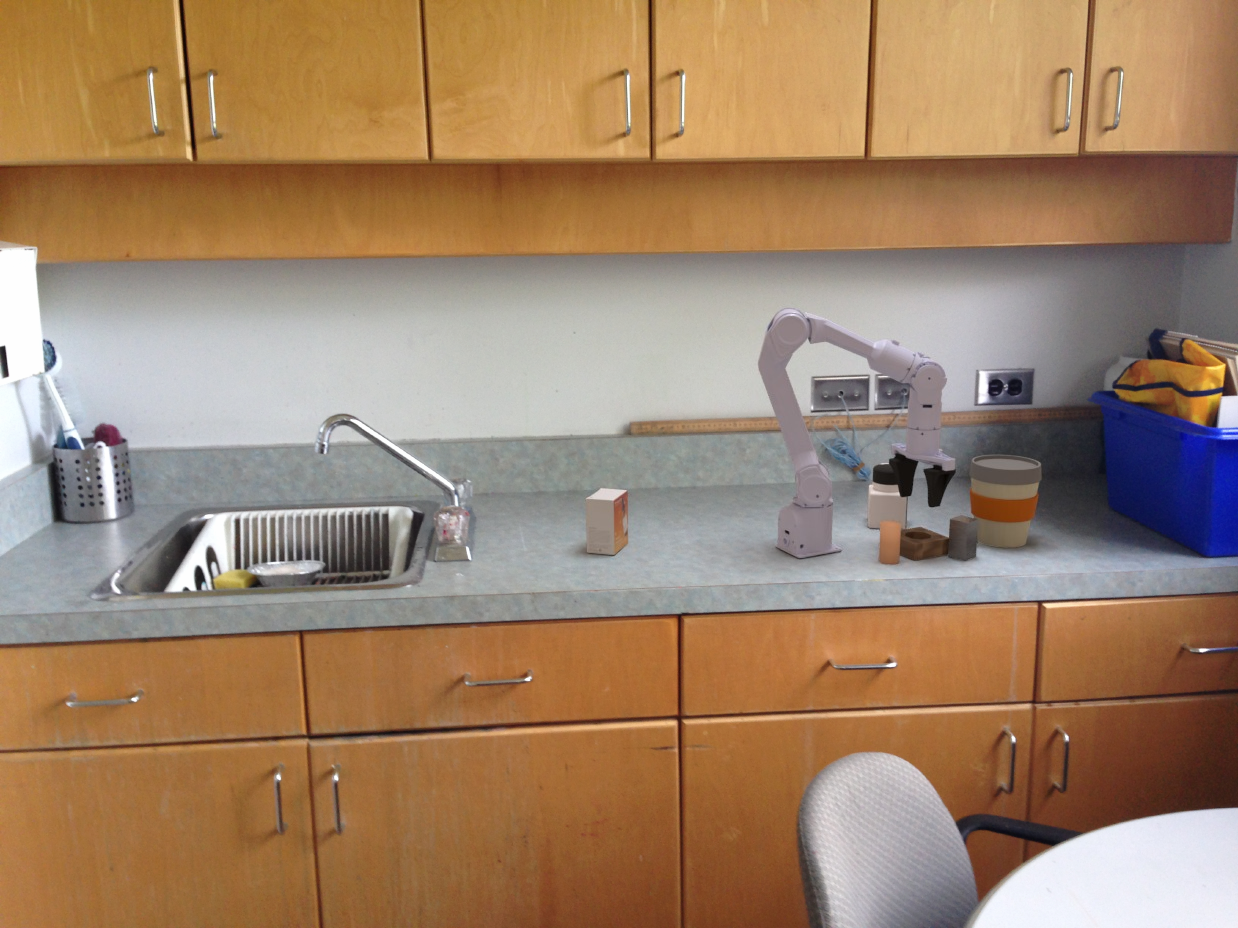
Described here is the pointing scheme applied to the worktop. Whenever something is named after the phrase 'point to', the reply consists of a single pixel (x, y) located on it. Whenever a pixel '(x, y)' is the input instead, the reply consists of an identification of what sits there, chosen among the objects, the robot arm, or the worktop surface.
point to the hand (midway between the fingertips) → (919, 501)
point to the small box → (607, 521)
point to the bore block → (922, 543)
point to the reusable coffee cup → (1004, 498)
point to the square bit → (963, 537)
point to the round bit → (889, 542)
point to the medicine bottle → (885, 498)
